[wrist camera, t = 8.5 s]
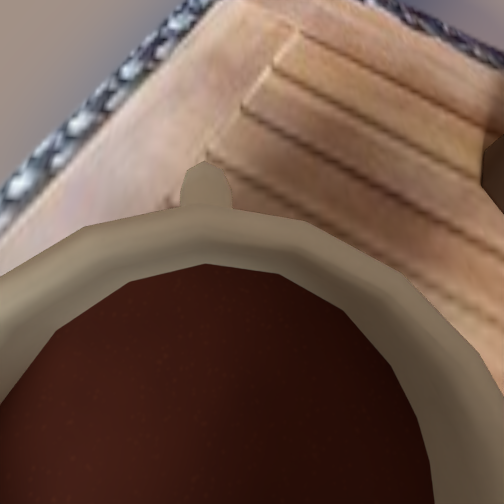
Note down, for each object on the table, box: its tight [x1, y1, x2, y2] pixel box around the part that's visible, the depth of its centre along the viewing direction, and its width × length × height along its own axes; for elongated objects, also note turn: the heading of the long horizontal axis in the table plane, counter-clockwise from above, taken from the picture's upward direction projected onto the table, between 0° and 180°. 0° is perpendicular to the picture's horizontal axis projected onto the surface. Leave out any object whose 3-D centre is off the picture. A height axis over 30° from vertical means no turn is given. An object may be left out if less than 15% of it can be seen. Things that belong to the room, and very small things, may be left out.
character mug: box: [0, 161, 504, 504], centre depth 9 cm, size 11×7×13 cm, turn 4°
